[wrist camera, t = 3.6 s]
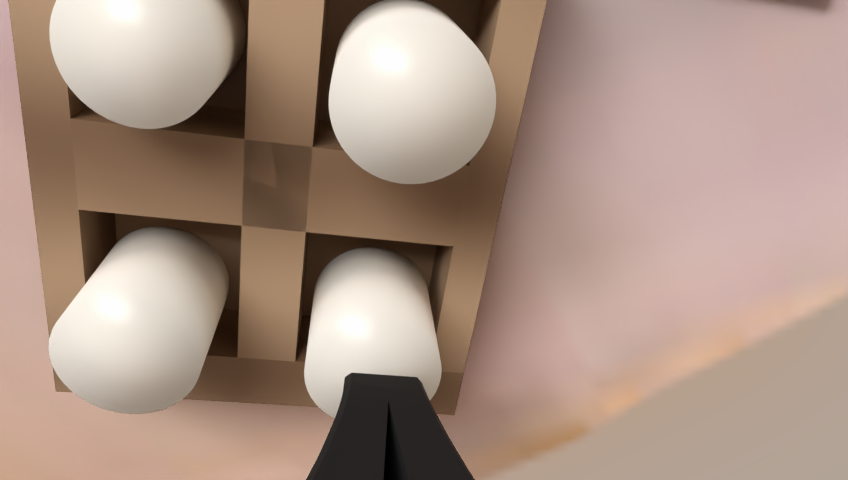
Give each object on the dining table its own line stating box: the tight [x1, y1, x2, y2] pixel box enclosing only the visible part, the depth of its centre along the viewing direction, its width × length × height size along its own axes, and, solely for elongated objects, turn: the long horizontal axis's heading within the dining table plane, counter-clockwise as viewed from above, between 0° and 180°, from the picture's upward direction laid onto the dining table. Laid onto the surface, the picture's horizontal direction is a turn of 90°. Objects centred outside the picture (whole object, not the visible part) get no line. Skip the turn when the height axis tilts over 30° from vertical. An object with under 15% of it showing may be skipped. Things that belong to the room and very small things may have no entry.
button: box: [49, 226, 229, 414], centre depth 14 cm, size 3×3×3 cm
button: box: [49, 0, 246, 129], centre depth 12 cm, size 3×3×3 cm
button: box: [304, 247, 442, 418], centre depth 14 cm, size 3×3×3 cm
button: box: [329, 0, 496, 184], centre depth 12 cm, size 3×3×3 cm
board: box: [8, 0, 547, 415], centre depth 15 cm, size 12×10×2 cm
